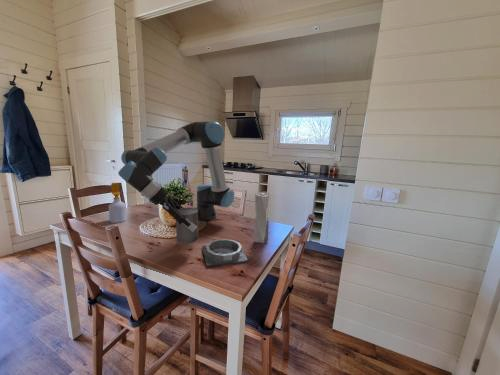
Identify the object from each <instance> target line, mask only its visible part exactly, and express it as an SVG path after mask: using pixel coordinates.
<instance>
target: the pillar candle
mask: <svg viewBox="0 0 500 375" xmlns="http://www.w3.org/2000/svg"><path fill="white" fill-rule="evenodd" d="M178 211H179V212H180V213H181V214H182V215H183V216H184V217H185V218H187V219H188V220H189V221H191V222H192V223H193V224H194V225H195V226H197V228H196V229H195V230H194V231H193V232H192V231H191V230H190V229H188V228H187V227H186V226H185V225H184V224H182V223H181V224H179V222H178V221H177V220H176V219H175V234H176V235H175V236H176V242H177V243H179V244H191V243H194V242H196V241H197V240H198V239H199V220H198V210H197V209H196V208H195V207H183V208H180V209H178ZM180 220H181V219H180Z"/></svg>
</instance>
